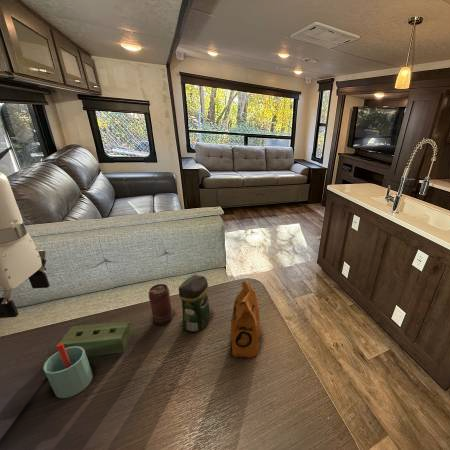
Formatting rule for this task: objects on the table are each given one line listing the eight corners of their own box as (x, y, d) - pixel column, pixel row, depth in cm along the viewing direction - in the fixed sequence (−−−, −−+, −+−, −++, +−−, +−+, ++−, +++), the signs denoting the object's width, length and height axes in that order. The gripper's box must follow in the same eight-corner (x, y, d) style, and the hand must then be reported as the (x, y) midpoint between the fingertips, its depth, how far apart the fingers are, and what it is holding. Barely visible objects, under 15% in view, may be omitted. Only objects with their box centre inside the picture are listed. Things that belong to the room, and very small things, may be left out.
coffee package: (227, 360, 78) (225, 305, 69) (233, 329, 89) (232, 278, 80) (259, 359, 79) (261, 305, 70) (261, 329, 90) (263, 279, 81)
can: (149, 321, 89) (143, 290, 83) (165, 311, 94) (160, 281, 88) (160, 329, 86) (155, 297, 81) (176, 317, 91) (172, 287, 86)
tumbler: (47, 400, 63) (35, 375, 59) (66, 372, 70) (56, 348, 66) (83, 395, 65) (73, 370, 61) (98, 368, 72) (90, 344, 68)
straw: (70, 384, 66) (55, 347, 61) (73, 380, 67) (58, 343, 62) (75, 383, 67) (60, 346, 61) (78, 379, 68) (63, 342, 62)
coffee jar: (194, 311, 95) (190, 270, 88) (213, 315, 94) (211, 274, 87) (179, 330, 86) (173, 287, 79) (200, 334, 85) (195, 291, 78)
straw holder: (124, 352, 77) (120, 338, 75) (63, 359, 73) (57, 344, 71) (132, 334, 83) (129, 320, 81) (77, 340, 79) (71, 326, 77)
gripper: (10, 216, 56) (33, 279, 63) (-76, 255, 41) (-33, 332, 47) (50, 217, 58) (69, 277, 64) (-17, 254, 42) (16, 328, 49)
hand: (26, 300), depth 56 cm, fingers open, 9 cm apart
